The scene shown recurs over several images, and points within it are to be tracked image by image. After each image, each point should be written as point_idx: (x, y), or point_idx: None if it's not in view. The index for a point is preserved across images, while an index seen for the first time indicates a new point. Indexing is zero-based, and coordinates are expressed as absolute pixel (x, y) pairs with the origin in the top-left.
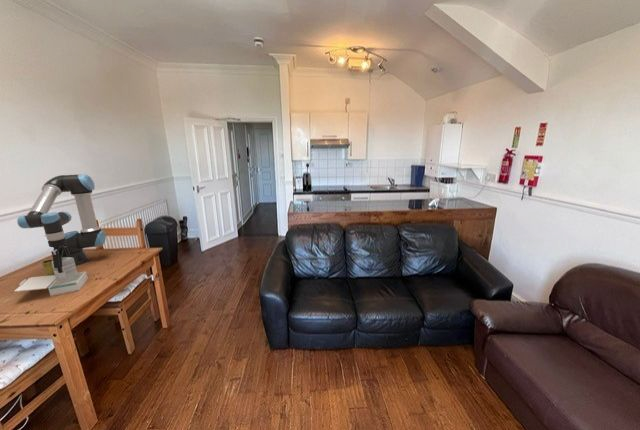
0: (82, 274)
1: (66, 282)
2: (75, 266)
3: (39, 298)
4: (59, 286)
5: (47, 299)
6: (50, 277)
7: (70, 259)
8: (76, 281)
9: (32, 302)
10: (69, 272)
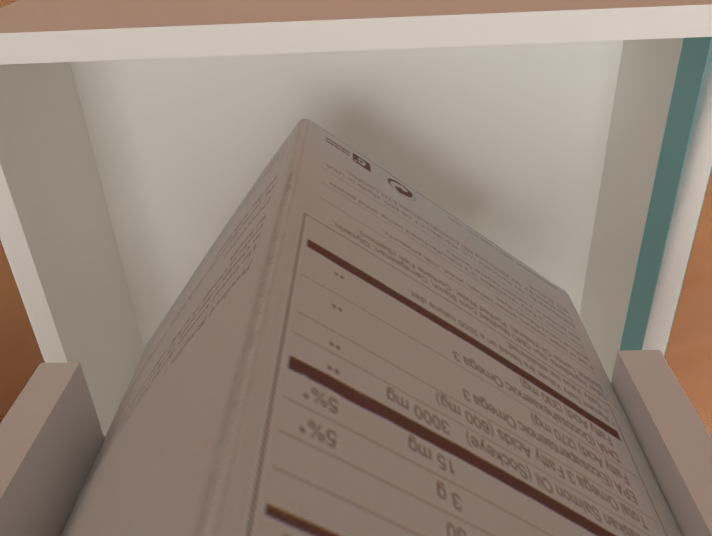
0: (148, 58)
1: (152, 319)
2: (287, 301)
3: None
4: (663, 332)
5: (690, 360)
6: None
7: None
8: (161, 172)
9: None
10: (507, 346)
